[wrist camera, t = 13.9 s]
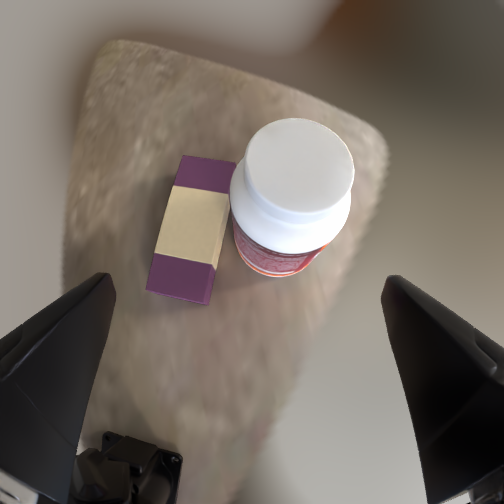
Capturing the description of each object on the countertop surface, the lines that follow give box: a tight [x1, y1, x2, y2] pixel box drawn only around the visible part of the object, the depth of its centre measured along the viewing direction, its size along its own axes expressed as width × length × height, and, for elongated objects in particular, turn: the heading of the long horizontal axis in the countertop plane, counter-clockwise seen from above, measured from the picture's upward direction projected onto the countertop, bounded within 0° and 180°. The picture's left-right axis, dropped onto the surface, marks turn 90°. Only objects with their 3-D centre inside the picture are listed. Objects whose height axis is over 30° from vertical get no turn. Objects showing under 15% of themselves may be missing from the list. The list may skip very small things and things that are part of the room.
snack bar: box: [146, 155, 236, 305], centre depth 22 cm, size 10×4×2 cm, turn 169°
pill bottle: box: [230, 118, 354, 277], centre depth 18 cm, size 6×6×11 cm
